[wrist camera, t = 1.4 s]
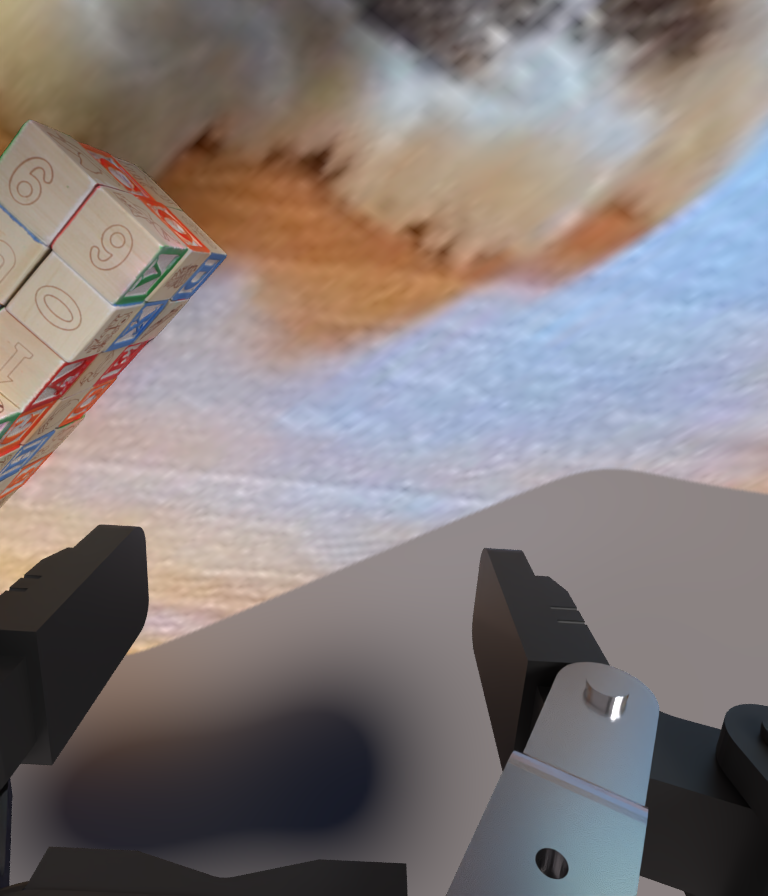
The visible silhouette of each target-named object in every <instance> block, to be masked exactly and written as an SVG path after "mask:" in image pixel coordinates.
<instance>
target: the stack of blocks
mask: <svg viewBox="0 0 768 896" xmlns="http://www.w3.org/2000/svg"><path fill="white" fill-rule="evenodd" d="M226 256H227V255H226V253H225V252H224V251H223V250H222V249H221V248H220V247H219V246H218V245H217V244H216V243H215V242H214V241H213V240H212V239H211V238H210V237H209V236H208V235H207V234H206V233H205V232H204V231H203V230H202V229H201V228H200V227H199V226H198V225H197V224H196V223H195V222H194V221H193V220H192V219H191V218H190V217H189V216H188V215H186V214H185V213H184V212H183V211H182V209H181V208H180V207H179V206H178V205H177V204H176V203H175V202H174V201H173V200H172V199H171V198H170V197H169V196H168V195H167V194H166V193H165V192H164V191H163V190H162V189H161V188H160V187H159V186H158V185H157V184H156V183H155V182H154V181H153V180H152V179H151V178H150V177H149V176H147V175H146V174H145V173H144V172H143V171H142V170H141V169H140V168H138V167H137V166H135V165H134V164H132V163H129V162H127V161H124V160H121V159H118V158H116V157H113V156H111V155H110V154H109V153H107V152H104V151H101V150H99V149H96V148H94V147H91V146H89V145H86V144H83V143H80V142H77V141H76V140H74V139H73V138H72V137H70V136H69V135H66V134H64V133H61V132H59V131H57V130H54V129H52V128H50V127H48V126H45V125H43V124H41V123H38V122H36V121H33V120H28V121H27V122H26V123H25V124H23V126H22V127H21V129H20V130H19V132H18V133H17V135H16V136H15V137H14V139H13V140H12V141H11V143H10V144H9V146H8V147H7V148H6V150H5V151H4V153H3V154H2V155H1V157H0V508H1V506H2V505H3V504H4V503H5V502H6V501H7V500H8V499H9V498H10V497H11V496H12V494H13V493H14V492H15V491H16V490H17V489H18V488H19V487H21V486H22V485H24V484H25V482H26V481H27V480H28V479H29V478H30V477H31V476H32V475H33V474H34V473H35V471H36V470H37V469H38V468H39V467H40V466H41V465H42V464H43V463H44V461H45V460H46V459H47V458H48V457H49V456H50V455H51V454H52V452H53V451H54V450H55V449H56V448H57V447H58V446H59V445H60V444H61V443H62V442H63V441H64V440H65V439H66V438H67V437H68V436H69V434H70V433H71V432H72V431H73V430H74V429H75V428H76V427H77V425H78V424H79V423H80V422H81V421H82V420H83V419H84V417H85V413H86V412H87V411H88V410H89V409H90V408H91V407H92V406H93V404H94V403H95V402H96V401H97V400H98V399H99V398H100V397H101V395H102V394H103V393H104V392H105V391H106V390H107V389H108V388H109V387H110V385H111V384H112V383H113V382H114V381H115V380H116V378H117V375H118V374H119V373H120V372H121V371H122V370H123V369H124V368H125V367H126V366H127V365H128V364H129V363H130V362H131V361H132V359H133V358H134V357H135V356H136V355H137V354H138V352H139V351H140V350H141V349H142V348H143V347H144V346H145V345H146V344H147V343H148V341H149V340H151V339H153V338H155V337H156V336H157V335H158V334H159V333H160V332H161V331H162V329H163V328H164V327H165V326H166V325H167V324H168V323H169V322H170V321H171V320H172V318H173V317H174V316H175V315H176V314H177V313H178V312H179V311H180V310H181V309H182V307H183V306H184V305H185V304H186V303H187V302H188V300H189V299H190V297H191V296H192V295H193V294H194V293H195V292H196V291H197V290H198V288H199V287H200V286H201V285H202V284H203V283H204V282H205V281H206V280H207V278H208V277H209V276H210V275H211V274H212V273H213V272H214V271H215V269H216V268H217V267H218V266H219V265H220V264H221V263H222V262H223V260H224V259H225V258H226Z"/></svg>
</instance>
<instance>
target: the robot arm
mask: <svg viewBox="0 0 768 896" xmlns="http://www.w3.org/2000/svg"><path fill="white" fill-rule="evenodd" d="M148 604H149V594H148V576H147V557H146V540H145V534H144V531H143V529H142V528H141V527H135V526H118V525H98V526H97V527H96V528H95V529H94V530H92V531H91V532H90V533H89V534H88V535H87V536H86V537H85V538H84V539H83V540H81V541H80V542H79V543H78V544H77V545H76V546H75V547H74V548H66V549H64V550H62V551H60V552H57V553H55V554H53V555H51V556H49V557H47V558H45V559H42V560H41V561H40V562H39V563H38V564H36V565H35V566H34V567H33V568H32V569H31V570H29V571H28V572H27V573H26V574H25V575H24V578H20V579H19V580H18V581H17V582H15V583H14V584H13V585H12V586H11V587H10V590H9V591H5V592H4V593H3V594H1V595H0V896H407V874H406V864H403V863H382V862H360V861H339V860H315V861H310V862H305V863H300V864H295V865H290V866H285V867H280V868H275V869H271V870H265V871H260V872H256V873H251V874H246V875H241V876H236V877H230V878H219V877H214V876H211V875H209V874H206V873H203V872H199V871H196V870H194V869H191V868H188V867H184V866H182V865H178V864H175V863H173V862H170V861H166V860H163V859H160V858H157V857H155V856H151V855H148V854H145V853H142V852H140V851H130V850H129V851H128V850H109V849H88V848H66V847H49V848H48V849H47V851H46V853H45V855H44V856H43V858H42V860H41V862H40V863H39V865H38V867H37V868H36V870H35V872H34V874H33V875H32V877H31V879H30V881H27V882H22V883H18V884H14V885H11V886H10V857H11V828H12V800H13V794H12V787H11V779H10V777H11V776H12V775H13V773H14V772H15V770H16V769H17V768H18V766H19V765H20V764H39V765H52V764H53V763H54V762H55V760H56V759H57V757H58V756H59V754H60V753H61V751H62V750H63V748H64V747H65V745H66V744H67V742H68V740H69V739H70V737H71V736H72V735H73V733H74V732H75V730H76V729H77V727H78V726H79V724H80V722H81V721H82V720H83V718H84V716H85V715H86V713H87V712H88V710H89V709H90V707H91V706H92V704H93V703H94V701H95V700H96V698H97V697H98V695H99V694H100V692H101V691H102V689H103V688H104V686H105V685H106V683H107V682H108V680H109V679H110V677H111V676H112V674H113V673H114V671H115V670H116V668H117V667H118V665H119V664H120V662H121V661H122V659H123V658H124V656H125V655H126V653H127V652H128V650H129V649H130V647H131V646H132V644H133V643H134V641H135V640H136V638H137V637H138V635H139V634H140V632H141V630H142V628H143V626H144V624H145V620H146V617H147V612H148ZM584 622H585V621H584V619H583V618H582V616H581V614H580V612H579V611H577V607H576V606H575V604H574V602H573V600H572V599H571V597H570V595H569V593H568V592H567V591H566V590H565V589H564V588H563V587H561V586H560V585H559V584H557V583H556V582H555V581H553V580H552V579H551V578H550V577H548V576H547V577H545V576H535V575H534V573H533V571H532V569H531V567H530V565H529V563H528V561H527V559H526V557H525V555H524V553H523V552H522V551H521V550H508V549H491V548H484V549H483V551H482V554H481V559H480V565H479V574H478V582H477V589H476V597H475V605H474V613H473V623H472V640H473V649H474V654H475V658H476V662H477V667H478V671H479V675H480V679H481V683H482V687H483V691H484V696H485V700H486V704H487V708H488V712H489V716H490V721H491V725H492V729H493V733H494V738H495V742H496V746H497V749H498V754H499V758H500V763H501V767H502V771H503V772H502V775H501V777H500V779H499V781H498V783H497V786H496V788H495V790H494V792H493V794H492V796H491V799H490V801H489V803H488V805H487V808H486V810H485V812H484V814H483V816H482V818H481V820H480V823H479V825H478V827H477V829H476V831H475V834H474V836H473V838H472V840H471V842H470V844H469V846H468V849H467V851H466V853H465V855H464V858H463V859H462V862H461V864H460V866H459V868H458V870H457V872H456V875H455V877H454V879H453V881H452V884H451V886H450V888H449V890H448V892H447V894H446V896H636V895H637V887H638V881H639V875H640V876H643V877H646V878H648V879H651V880H654V881H657V882H660V883H662V884H665V885H668V886H671V887H674V888H677V889H679V890H682V891H684V892H685V895H686V896H768V706H763V705H756V704H743V705H738V706H735V707H733V708H731V709H730V710H729V711H728V712H727V713H726V715H725V718H724V722H723V725H722V729H721V730H720V729H717V728H713V727H710V726H706V725H702V724H698V723H694V722H691V721H687V720H684V719H680V718H677V717H674V716H670V715H668V714H665V713H663V712H661V711H659V705H658V702H657V700H656V698H655V696H654V695H653V693H652V692H651V691H650V689H649V688H648V687H646V686H645V685H644V684H643V683H642V682H641V681H639V680H638V679H637V678H635V677H633V676H632V675H630V674H628V673H626V672H624V671H622V670H620V669H618V668H615V667H612V666H610V665H609V663H608V661H607V660H606V658H605V656H604V654H603V653H602V651H601V649H600V647H599V646H598V644H597V642H596V641H595V639H594V637H593V635H592V633H591V632H590V630H589V628H588V627H587V625H585V624H584Z"/></svg>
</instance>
